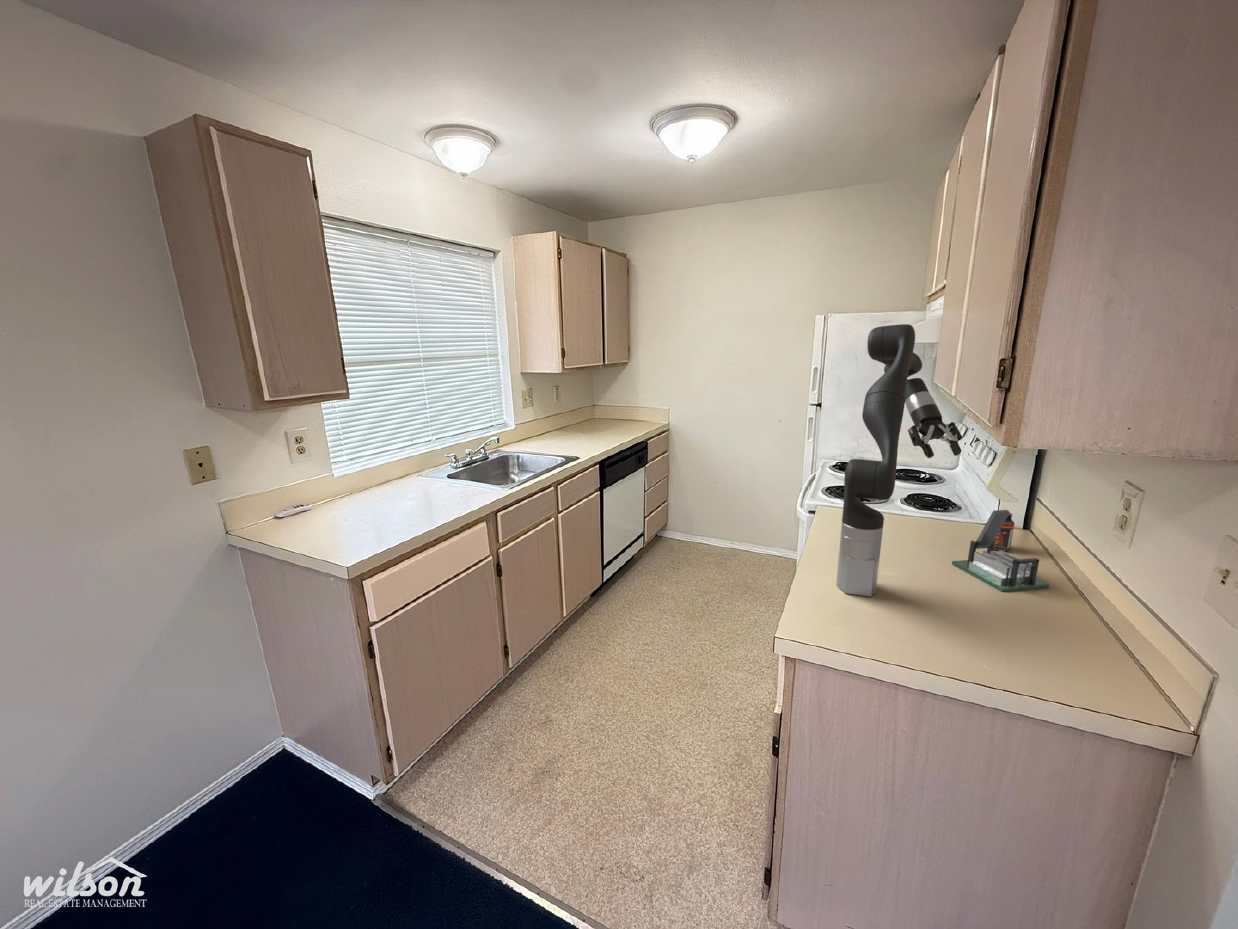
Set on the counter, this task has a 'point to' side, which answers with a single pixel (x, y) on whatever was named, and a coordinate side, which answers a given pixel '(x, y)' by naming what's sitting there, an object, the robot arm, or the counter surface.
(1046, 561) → the counter surface
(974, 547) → the heatsink
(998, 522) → the retention strap
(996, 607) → the counter surface
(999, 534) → the supplement bottle
